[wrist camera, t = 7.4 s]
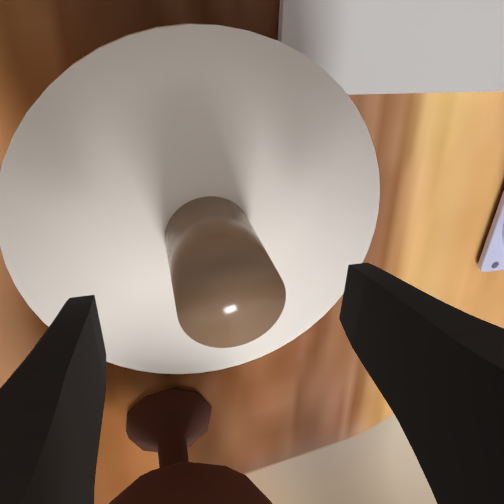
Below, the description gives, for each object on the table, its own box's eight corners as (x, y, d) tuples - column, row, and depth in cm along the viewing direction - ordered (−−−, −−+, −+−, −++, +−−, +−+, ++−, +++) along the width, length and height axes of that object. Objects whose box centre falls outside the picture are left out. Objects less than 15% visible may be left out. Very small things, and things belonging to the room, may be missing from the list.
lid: (410, 45, 14) (524, 64, 10) (332, 345, 20) (383, 430, 16) (-43, -4, 11) (-144, -6, 7) (34, 376, 17) (6, 493, 13)
